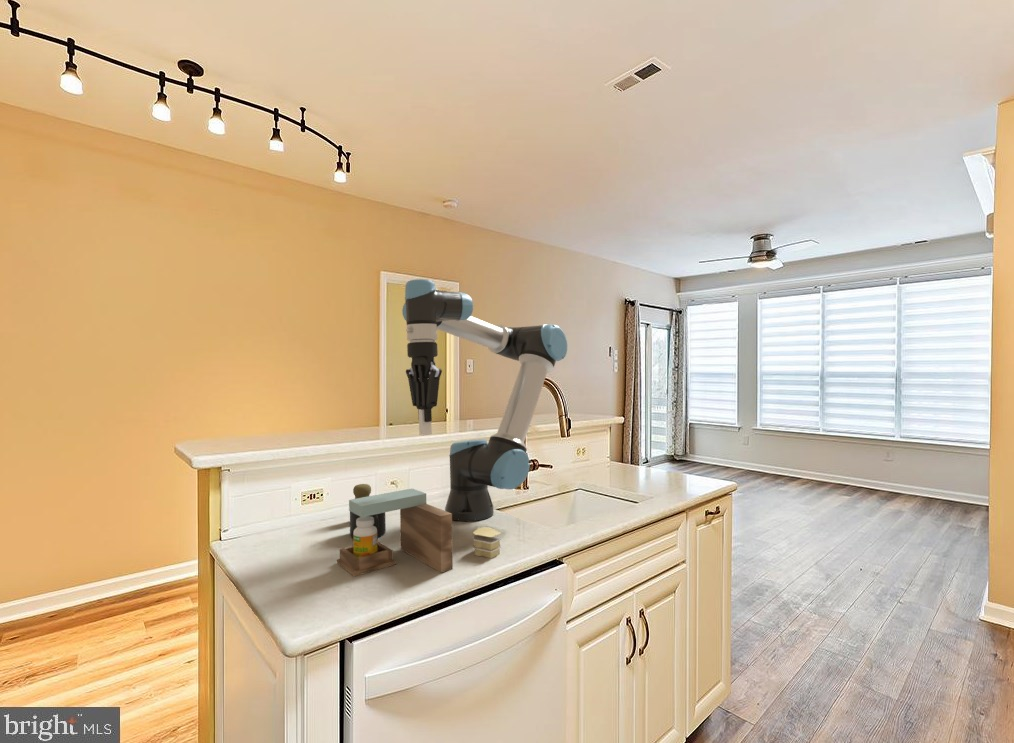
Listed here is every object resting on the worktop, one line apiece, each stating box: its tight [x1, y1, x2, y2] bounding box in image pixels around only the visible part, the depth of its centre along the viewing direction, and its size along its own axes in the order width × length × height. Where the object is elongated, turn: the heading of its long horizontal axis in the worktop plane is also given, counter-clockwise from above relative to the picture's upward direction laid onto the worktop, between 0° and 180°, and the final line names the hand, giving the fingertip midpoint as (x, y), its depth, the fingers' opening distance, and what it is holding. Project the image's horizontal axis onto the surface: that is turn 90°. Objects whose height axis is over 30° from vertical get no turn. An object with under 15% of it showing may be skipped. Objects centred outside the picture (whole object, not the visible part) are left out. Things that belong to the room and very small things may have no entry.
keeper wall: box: [399, 503, 454, 573], centre depth 116 cm, size 3×19×12 cm, turn 40°
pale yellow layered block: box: [472, 526, 502, 559], centre depth 120 cm, size 10×9×6 cm
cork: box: [352, 483, 372, 499], centre depth 147 cm, size 6×6×11 cm
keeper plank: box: [348, 488, 427, 517], centre depth 116 cm, size 16×7×2 cm, turn 130°
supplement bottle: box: [352, 516, 378, 558], centre depth 114 cm, size 5×5×10 cm
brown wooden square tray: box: [336, 540, 397, 577], centre depth 114 cm, size 10×10×3 cm
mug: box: [349, 511, 387, 539], centre depth 133 cm, size 9×12×9 cm
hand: (425, 434), depth 124 cm, fingers closed
